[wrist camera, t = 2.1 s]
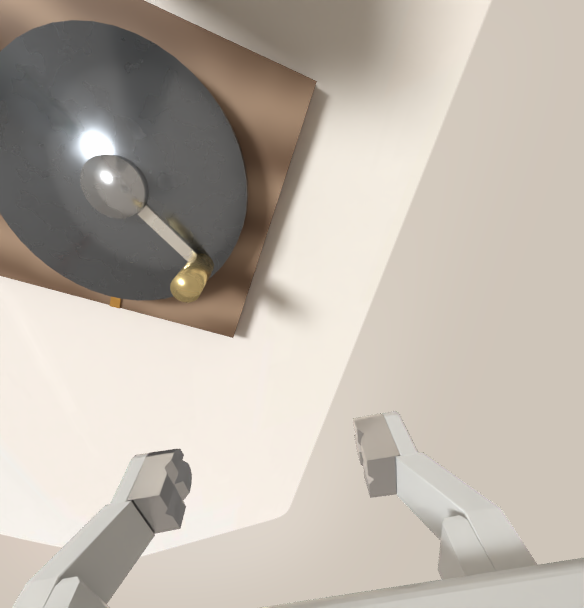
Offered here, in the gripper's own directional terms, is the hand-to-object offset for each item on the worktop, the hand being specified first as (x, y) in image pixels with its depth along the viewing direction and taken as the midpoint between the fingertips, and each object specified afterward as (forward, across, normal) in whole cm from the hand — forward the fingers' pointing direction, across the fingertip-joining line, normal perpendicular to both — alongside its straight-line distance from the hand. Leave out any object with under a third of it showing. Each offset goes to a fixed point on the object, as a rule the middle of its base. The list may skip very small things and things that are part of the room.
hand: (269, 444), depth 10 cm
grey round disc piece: (+23, +12, -9) cm, 28 cm away
